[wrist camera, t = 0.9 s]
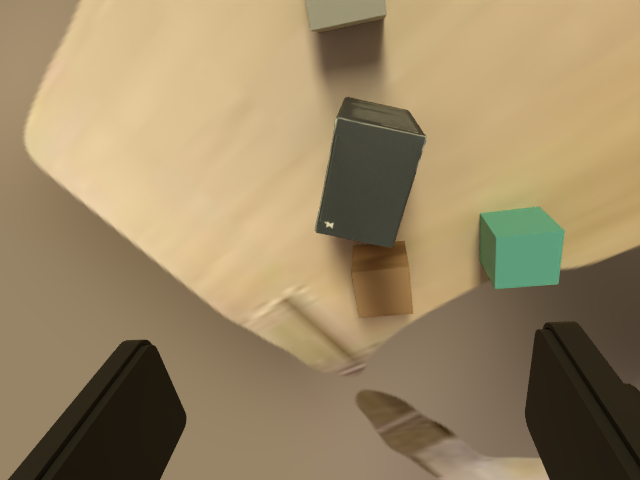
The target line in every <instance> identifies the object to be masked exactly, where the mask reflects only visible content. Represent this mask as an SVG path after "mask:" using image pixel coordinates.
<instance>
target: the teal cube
mask: <svg viewBox="0 0 640 480" xmlns="http://www.w3.org/2000/svg"><path fill="white" fill-rule="evenodd" d="M563 239H564V230H563V229H562V228H561V227H560V226H559V225H558V224H557V223H556V222H555V221H554V220H553V219H552V218H551V217H550V216H549V215H547V214H546V213H545V212H544V211H543V210H542V209H541V208H540V207H532V208H523V209H514V210H506V211H497V212H488V213H480V262H481V263H482V265H483V267H484V269H485V271H486V273H487V275H488V277H489V279H490V281H491V283H492V285H493V287H494V288H495V289H503V288H516V287H528V286H540V285H552V284H558V283H559V274H560V265H561V257H562V248H563Z"/></svg>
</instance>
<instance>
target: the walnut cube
mask: <svg viewBox="0 0 640 480" xmlns="http://www.w3.org/2000/svg"><path fill="white" fill-rule="evenodd" d="M351 274H352V280H353V286H354V292H355V298H356V304H357V310H358V315H359V318H361V317H375V316H389V315H403V314H413V305H412V294H411V283H410V272H409V264H408V259H407V253H406V248H405V242H404V241H399V242H394V245H393V247H392V248H390V247H384V246H379V245H374V244H371V245H361V246H353V256H352V270H351Z"/></svg>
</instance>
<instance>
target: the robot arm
mask: <svg viewBox="0 0 640 480" xmlns="http://www.w3.org/2000/svg"><path fill="white" fill-rule="evenodd" d="M525 418H526V423H527V426H528V429H529V432H530V434H531V436H532V439H533V441H534V443H535V446H536V448H537V450H538V453H539V455H540V458H541V460H542V463H543V465H544V467H545V470H546V472H547V475H548V477H549V479H550V480H640V391H639V390H638V389H637V388H636V387H634V386H632V385H631V384H625V383H623V382H622V381H621V379H620V378H619V377H618V375H617V374H616V373H615V371H614V370H613V369H612V367H611V366H610V365H609V363H608V362H607V361H606V359H605V358H604V357H603V355H602V354H601V353H600V351H599V350H598V349H597V347H596V346H595V345H594V343H593V342H592V341H591V340H590V338H589V337H588V336H587V334H586V333H585V332H584V330H583V329H582V328H581V326H579V324H578V323H576V322H574V321H572V322H549V323H545V325H544V327H543V329H541V330H537V331H536V333H535V338H534V346H533V354H532V362H531V370H530V377H529V384H528V392H527V400H526V407H525ZM185 424H186V413H185V411H184V408H183V406H182V404H181V402H180V399H179V397H178V395H177V393H176V390H175V388H174V386H173V384H172V381H171V379H170V377H169V375H168V372H167V370H166V368H165V366H164V364H163V361H162V359H161V357H160V354H159V352H158V350H157V348H156V347H155V346H154V345H152V344H151V343H150V342H149V341H148V340H126V341H124V342H122V343H121V344H120V345H119V346H118V347H117V349H116V350H115V351H114V352H113V353H112V355H111V356H110V357H109V358H108V359H107V361H106V362H105V363H104V365H102V367H101V368H100V369H99V370H98V372H97V373H96V374H95V375H94V376H93V378H92V379H91V380H90V381H89V383H88V384H87V385H86V386H85V387H84V388H83V390H82V391H81V392H80V393H79V395H78V396H77V397H76V398H75V399H74V401H73V402H72V403H71V404H70V405H69V407H68V408H67V409H66V410H65V412H64V413H63V414H62V415H61V416H60V417H59V419H58V420H57V421H56V422H55V424H54V425H53V426H52V427H51V428H50V430H49V431H48V432H47V433H46V434H45V436H44V437H43V438H42V439H41V440H40V442H39V443H38V444H37V445H36V447H35V448H34V449H33V450H32V451H31V453H30V454H29V455H28V456H27V458H26V459H25V460H24V461H23V462H22V463H21V465H20V466H19V467H18V468H17V470H16V471H15V472H14V473H13V474H12V476H11V477H10V478H9V479H8V480H160V478H161V476H162V474H163V472H164V470H165V468H166V466H167V464H168V461H169V460H170V457H171V455H172V453H173V451H174V449H175V447H176V445H177V443H178V441H179V439H180V436H181V434H182V432H183V430H184V428H185Z"/></svg>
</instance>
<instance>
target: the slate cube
mask: <svg viewBox="0 0 640 480" xmlns="http://www.w3.org/2000/svg"><path fill="white" fill-rule="evenodd" d="M305 1H306V7H307V13H308V19H309V25H310V31H314V32H318V33H320V32H325V31H329V30H334V29H339V28H344V27H348V26H353V25H358V24H362V23H367V22H372V21H377V20H381V19H384V18H385V16H386V4H385V0H305Z"/></svg>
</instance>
